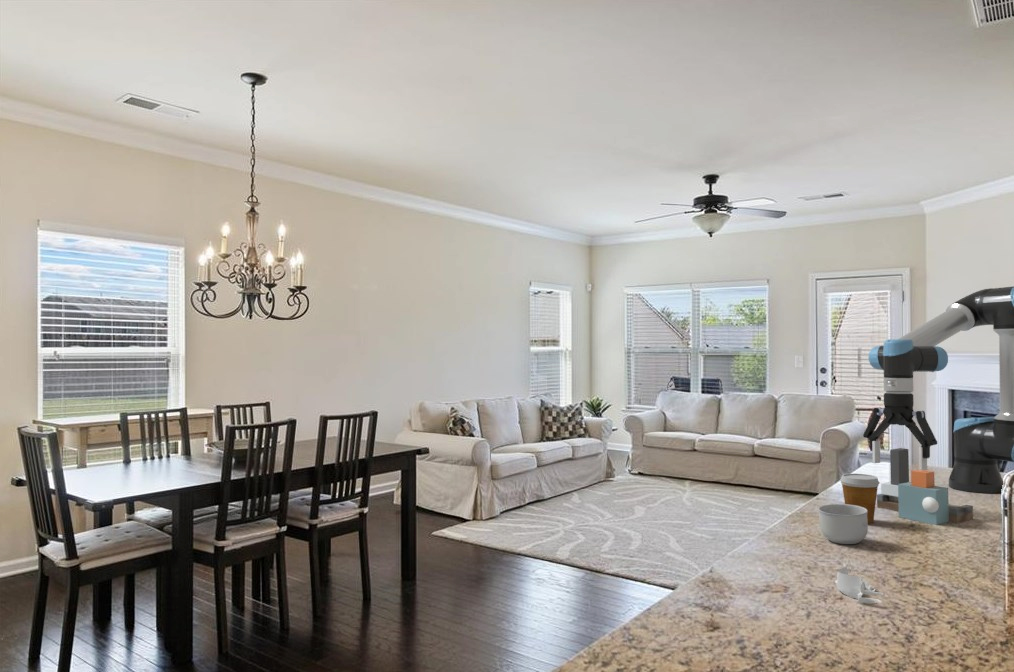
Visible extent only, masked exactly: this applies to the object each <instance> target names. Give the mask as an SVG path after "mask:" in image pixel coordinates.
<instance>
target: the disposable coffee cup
mask: <svg viewBox="0 0 1014 672" xmlns="http://www.w3.org/2000/svg"><path fill="white" fill-rule="evenodd" d="M839 481H840V484H841V485H842V486H841V487H842V494H843V500H844V504H849V505H856V506H860V507H863V508H866V509H867V511H868V513H867V519H868V525H869V524H874V519H875V513H876V512H875V511H876V505H877V495H878V487H879V484H881V483H880V481H879V479H878V477H877V476H875V475H872V474H865V473H864V474H863V473H844V474H841V478H840V479H839Z"/></svg>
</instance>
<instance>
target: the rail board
mask: <svg viewBox="0 0 1014 672" xmlns="http://www.w3.org/2000/svg"><path fill="white" fill-rule="evenodd" d="M876 508H880V509H886V510H890V511H895V512H899V502H898V497H896V496H891V495H885V494H881V493H880V494H879V493H877V496H876ZM971 519H972V520H974V506H973V505H971V504H963V505H955V504H951V503H949V522H950V523H953V522H954V524H960V523H965V522H968V521H971ZM967 520H968V521H967ZM949 522H948V523H949Z"/></svg>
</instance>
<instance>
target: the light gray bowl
mask: <svg viewBox="0 0 1014 672" xmlns="http://www.w3.org/2000/svg"><path fill="white" fill-rule="evenodd" d="M817 510H818V518H819V527H820V532H821V534H822V535H823V536H824V537H825V538H827V539H828V541H830V542H832V543H835V544H840V545H855V544H859V543H860V542H861V541H863V540H864V539H866V537H867V535H868V532H869V531H868V529H869V528H868V526H869V524H868V519H867V513H868V511H867V509H866V508H863V507H860V506H856V505H849V504H845V503H833V502H827V503H826V504H824V505H821V506H819V507H818V509H817Z"/></svg>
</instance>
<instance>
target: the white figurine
mask: <svg viewBox="0 0 1014 672" xmlns="http://www.w3.org/2000/svg"><path fill="white" fill-rule="evenodd" d="M842 564H843V566H842V567H841V569H838V570H837V574H836V580H834V583H835V584H836V589H837V590H838V591H839V592H841V593H842V594H844V595H845V596H846V597H849V598H852V599H856V600H857V603H859V604H868V605H869V604H872V605H873V604H877V603H878V602H879V603H883V600H881V599H877V598H871V597H863V596H864V595H872V596H885V595H884V593H883V592H879V589H878V588H874V589H873V586H872V585H871V584H870V583H868V582H867V581H865V580H863V578H862V577H861V576H858V575H857V574H855V575H851V574H849V572H848V568H847V567H848V566H847V564H846V563H845V562H843V563H842Z"/></svg>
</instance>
